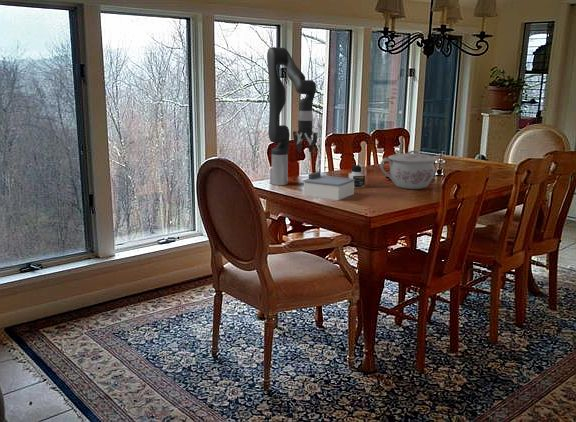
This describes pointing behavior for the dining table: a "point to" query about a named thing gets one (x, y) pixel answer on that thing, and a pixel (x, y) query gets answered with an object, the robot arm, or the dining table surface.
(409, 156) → the chamber pot
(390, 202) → the dining table surface
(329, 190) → the box
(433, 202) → the dining table surface
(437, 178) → the dining table surface
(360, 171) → the medicine bottle
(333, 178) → the lid
